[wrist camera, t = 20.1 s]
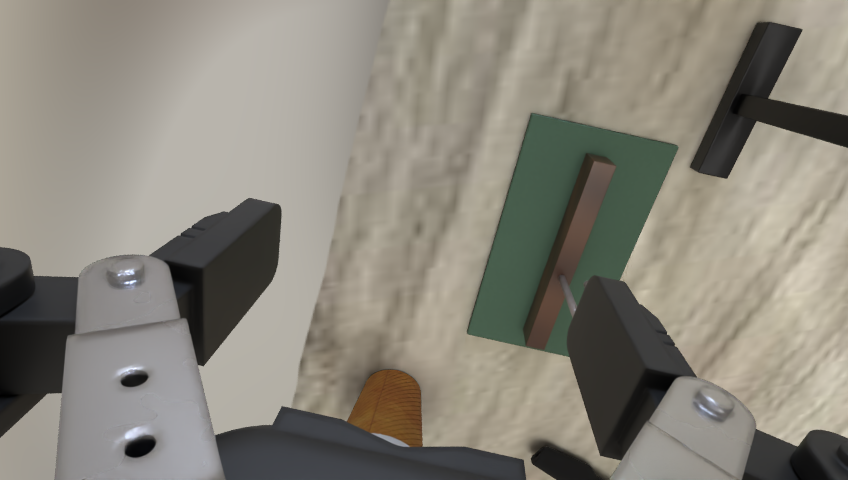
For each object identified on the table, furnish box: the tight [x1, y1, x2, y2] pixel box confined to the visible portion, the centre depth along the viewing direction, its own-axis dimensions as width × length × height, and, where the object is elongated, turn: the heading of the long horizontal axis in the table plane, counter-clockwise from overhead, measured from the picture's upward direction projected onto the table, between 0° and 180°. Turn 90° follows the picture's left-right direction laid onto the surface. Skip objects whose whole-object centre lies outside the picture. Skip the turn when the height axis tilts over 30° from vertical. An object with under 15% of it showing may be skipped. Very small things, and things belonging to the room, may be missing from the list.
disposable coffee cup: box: [347, 370, 423, 447], centre depth 45 cm, size 10×10×12 cm
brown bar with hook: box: [523, 153, 616, 350], centre depth 36 cm, size 18×2×10 cm, turn 169°
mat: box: [467, 113, 678, 357], centre depth 41 cm, size 22×12×1 cm, turn 169°
